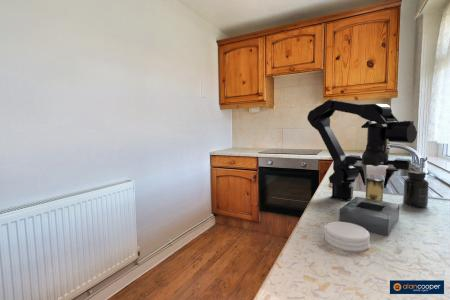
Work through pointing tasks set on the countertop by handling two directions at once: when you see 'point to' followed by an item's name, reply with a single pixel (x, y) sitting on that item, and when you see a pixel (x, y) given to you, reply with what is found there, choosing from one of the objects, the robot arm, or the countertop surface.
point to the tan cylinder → (374, 188)
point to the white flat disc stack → (347, 236)
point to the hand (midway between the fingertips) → (374, 186)
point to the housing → (371, 214)
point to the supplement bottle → (415, 190)
